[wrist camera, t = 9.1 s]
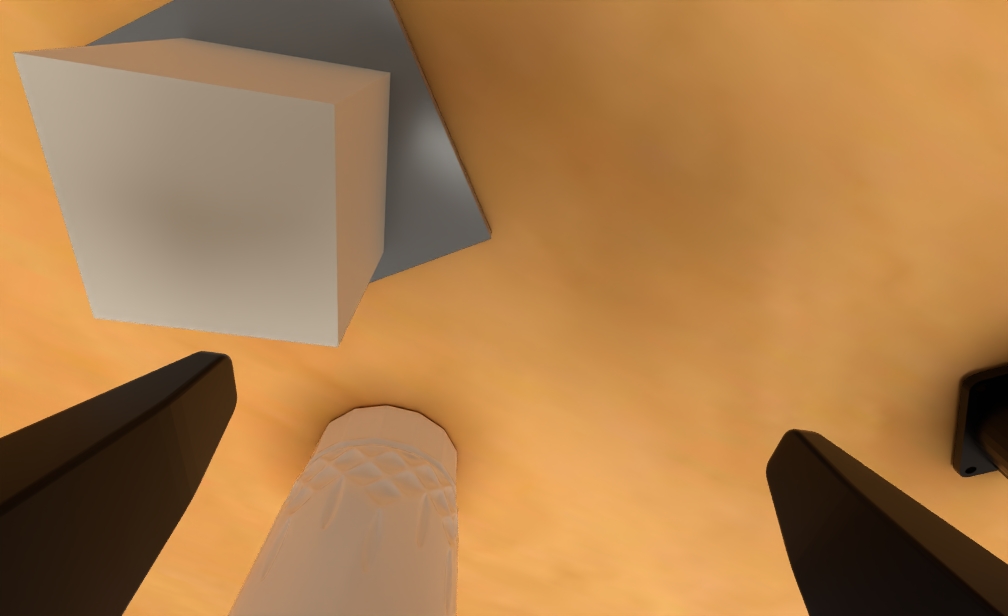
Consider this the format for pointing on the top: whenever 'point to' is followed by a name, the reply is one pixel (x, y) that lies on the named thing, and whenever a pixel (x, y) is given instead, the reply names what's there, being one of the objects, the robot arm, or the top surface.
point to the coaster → (412, 108)
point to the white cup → (364, 525)
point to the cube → (216, 182)
